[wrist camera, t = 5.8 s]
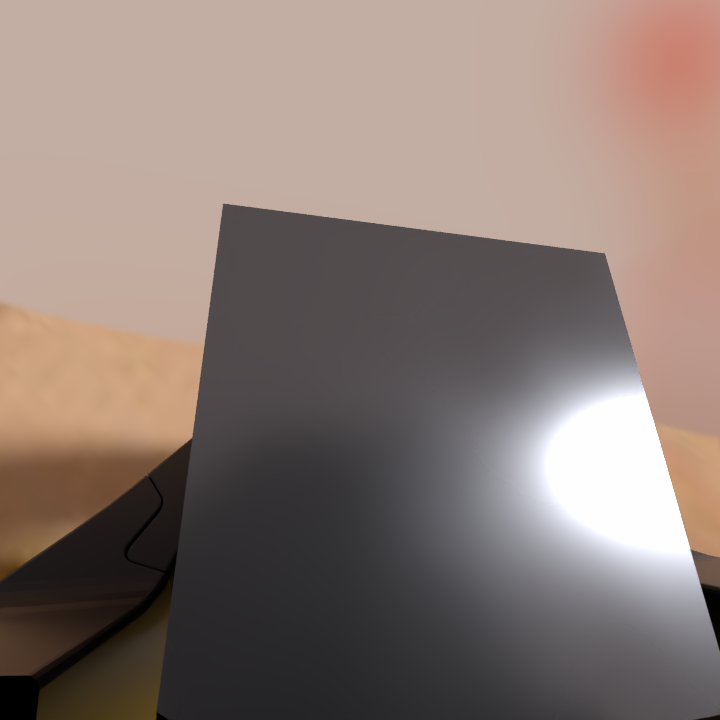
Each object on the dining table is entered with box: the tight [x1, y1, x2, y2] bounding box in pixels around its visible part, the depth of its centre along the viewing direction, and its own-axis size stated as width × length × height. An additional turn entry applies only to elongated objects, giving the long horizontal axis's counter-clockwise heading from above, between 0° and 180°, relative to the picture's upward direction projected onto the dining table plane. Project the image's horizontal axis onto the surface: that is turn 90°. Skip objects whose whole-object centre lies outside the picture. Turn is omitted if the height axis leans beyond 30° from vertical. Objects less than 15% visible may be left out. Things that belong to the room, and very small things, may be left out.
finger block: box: [156, 204, 720, 720], centre depth 9 cm, size 4×4×13 cm
